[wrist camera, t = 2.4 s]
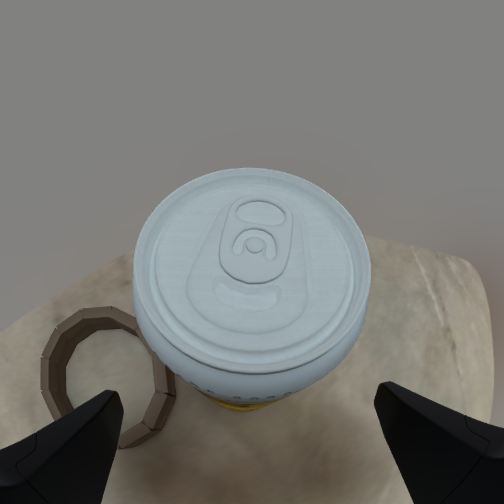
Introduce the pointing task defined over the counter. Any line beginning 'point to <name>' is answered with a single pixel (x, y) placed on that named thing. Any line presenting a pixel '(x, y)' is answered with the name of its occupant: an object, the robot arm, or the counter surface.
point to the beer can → (250, 285)
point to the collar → (62, 350)
